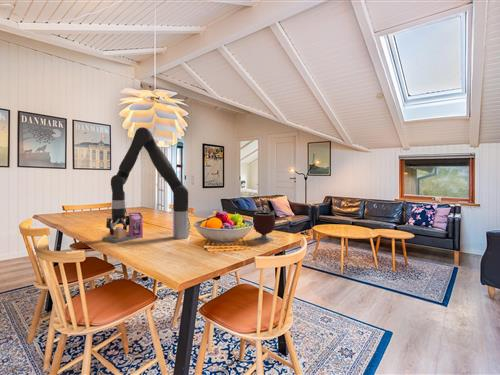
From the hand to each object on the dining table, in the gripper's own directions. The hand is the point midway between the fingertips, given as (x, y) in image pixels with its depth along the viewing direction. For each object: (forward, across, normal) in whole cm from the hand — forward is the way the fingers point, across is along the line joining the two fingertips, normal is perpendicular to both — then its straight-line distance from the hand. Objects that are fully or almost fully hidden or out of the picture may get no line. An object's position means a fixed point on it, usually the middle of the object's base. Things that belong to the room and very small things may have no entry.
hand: (118, 233), depth 169 cm
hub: (+2, 0, 0) cm, 2 cm away
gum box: (+4, -15, -3) cm, 16 cm away
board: (+4, 0, 0) cm, 4 cm away
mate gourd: (+3, -49, +76) cm, 91 cm away
